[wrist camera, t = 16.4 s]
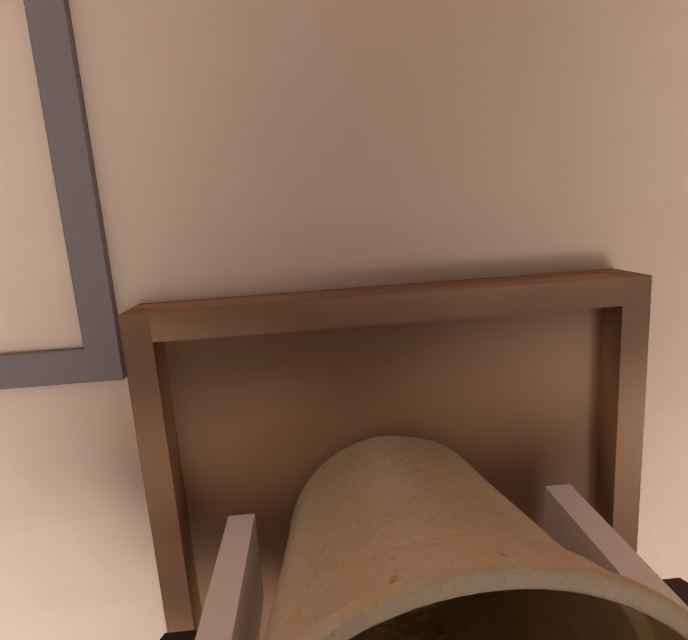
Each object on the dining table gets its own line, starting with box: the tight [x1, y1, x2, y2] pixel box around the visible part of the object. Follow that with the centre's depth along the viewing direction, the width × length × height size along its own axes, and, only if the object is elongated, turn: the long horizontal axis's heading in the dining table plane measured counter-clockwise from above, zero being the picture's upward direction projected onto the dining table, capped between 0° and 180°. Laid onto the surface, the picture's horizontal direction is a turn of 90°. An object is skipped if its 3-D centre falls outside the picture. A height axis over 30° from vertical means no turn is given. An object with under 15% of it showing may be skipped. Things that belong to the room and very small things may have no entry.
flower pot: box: [264, 435, 688, 640], centre depth 12 cm, size 9×9×9 cm
